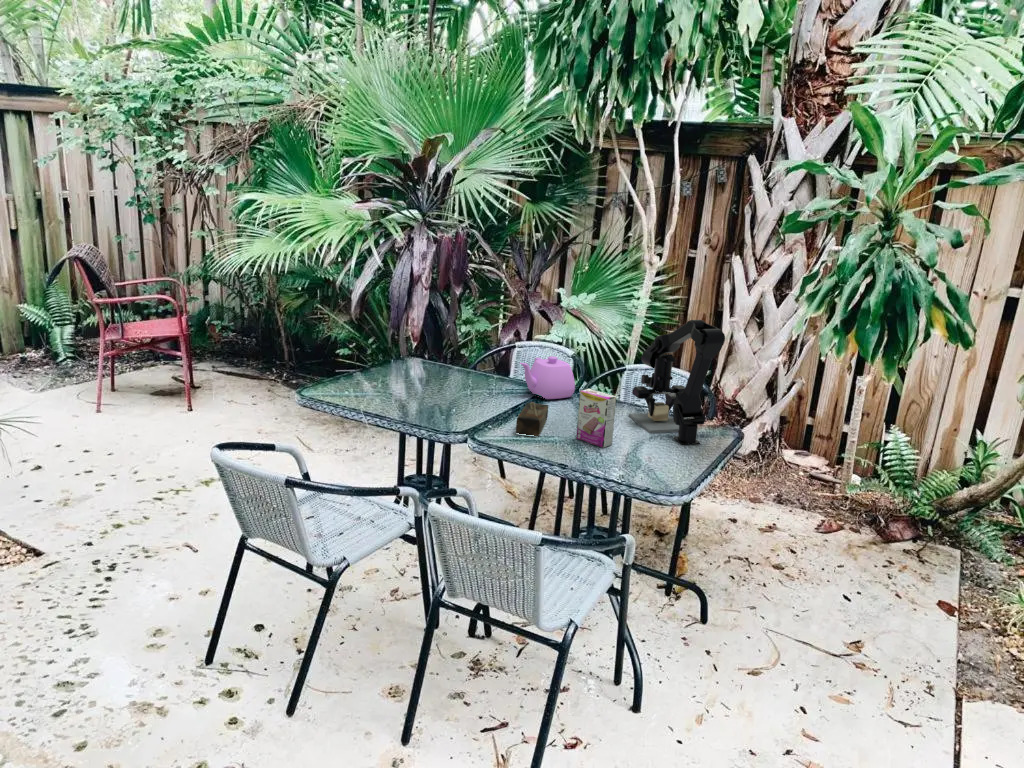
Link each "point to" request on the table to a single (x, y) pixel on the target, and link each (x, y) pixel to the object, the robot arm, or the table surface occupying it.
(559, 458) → the table surface
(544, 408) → the beverage carton
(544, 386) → the teapot
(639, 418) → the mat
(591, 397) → the candy bar box
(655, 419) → the lettered cube
